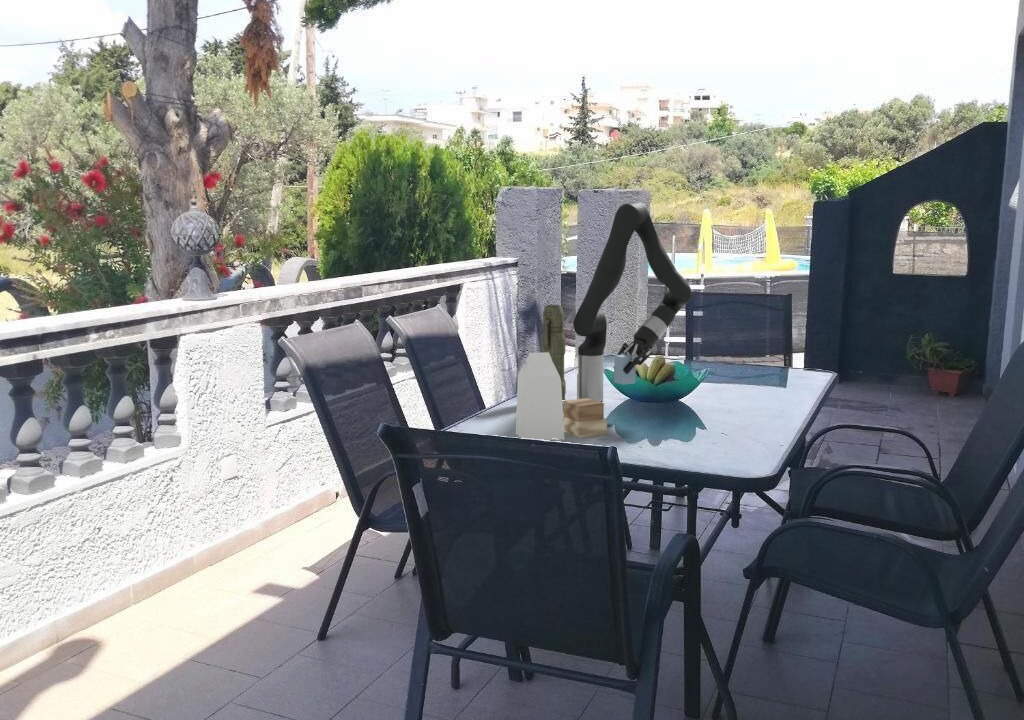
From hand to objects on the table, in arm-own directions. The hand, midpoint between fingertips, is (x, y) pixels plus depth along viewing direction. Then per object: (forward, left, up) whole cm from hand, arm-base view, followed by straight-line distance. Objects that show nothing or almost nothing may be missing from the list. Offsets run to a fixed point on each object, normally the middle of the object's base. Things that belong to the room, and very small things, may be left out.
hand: (620, 370), depth 297 cm
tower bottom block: (+10, -20, -17) cm, 28 cm away
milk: (+8, -35, -16) cm, 40 cm away
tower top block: (+10, -21, -12) cm, 26 cm away
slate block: (0, +2, -4) cm, 5 cm away
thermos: (-38, -3, -16) cm, 41 cm away
